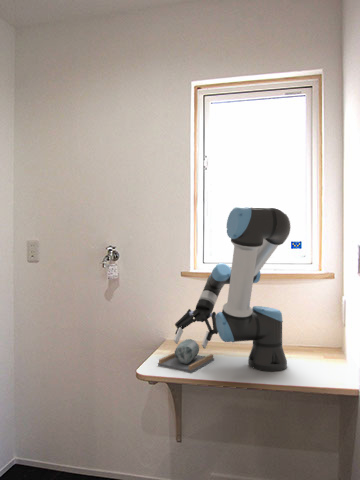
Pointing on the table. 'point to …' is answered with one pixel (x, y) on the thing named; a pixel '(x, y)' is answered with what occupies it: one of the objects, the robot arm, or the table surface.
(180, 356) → the grey thick cylinder
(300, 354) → the table surface
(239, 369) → the table surface
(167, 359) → the slot board
